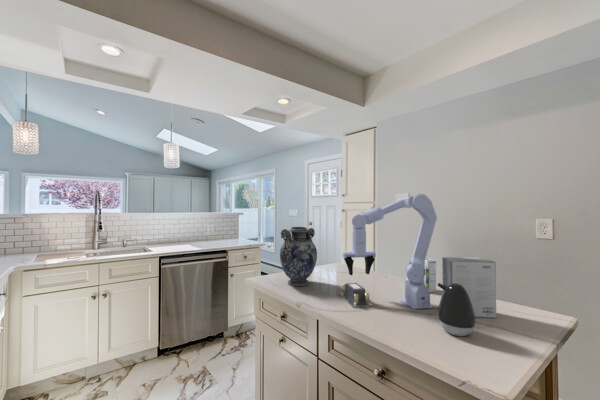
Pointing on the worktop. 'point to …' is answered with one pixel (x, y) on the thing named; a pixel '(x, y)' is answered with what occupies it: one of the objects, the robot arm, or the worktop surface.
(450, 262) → the hard drive box
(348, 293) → the block
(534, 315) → the worktop surface
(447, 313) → the pump dispenser
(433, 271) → the syrup box
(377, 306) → the worktop surface
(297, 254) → the decorative vase
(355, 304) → the brass peg board
